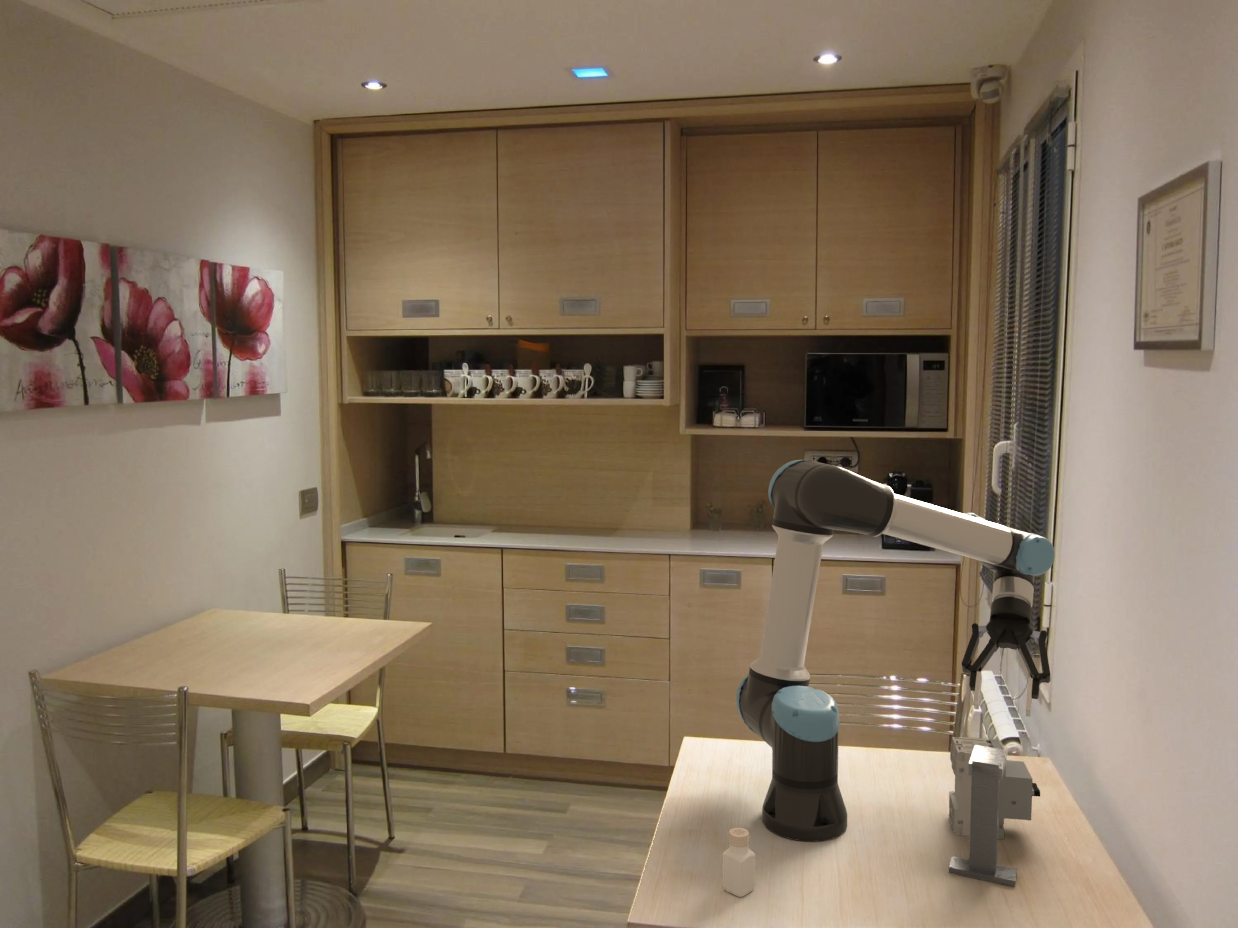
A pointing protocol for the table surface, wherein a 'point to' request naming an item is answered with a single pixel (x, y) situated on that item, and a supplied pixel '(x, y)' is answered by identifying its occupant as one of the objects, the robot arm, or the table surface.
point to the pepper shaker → (739, 864)
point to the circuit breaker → (1012, 787)
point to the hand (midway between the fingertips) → (1001, 709)
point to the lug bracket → (985, 819)
